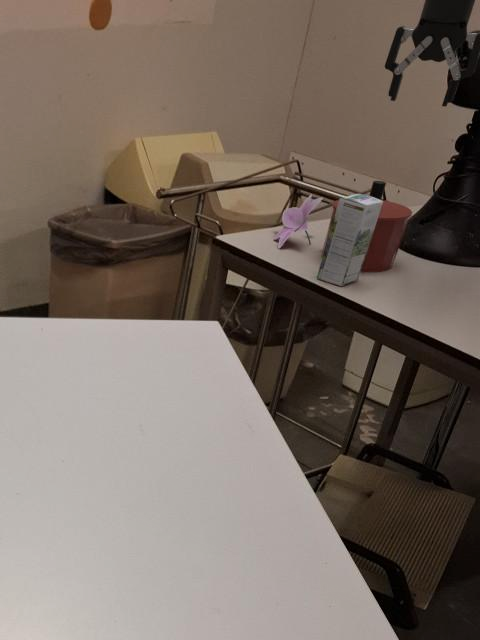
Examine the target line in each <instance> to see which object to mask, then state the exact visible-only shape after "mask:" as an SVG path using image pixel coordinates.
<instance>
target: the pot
mask: <svg viewBox="0 0 480 640" xmlns="http://www.w3.org/2000/svg"><path fill="white" fill-rule="evenodd" d="M335 213H336V210H334V209H333V208H332V213H331V217H330V221H329V224H328V227H327V232H326V235H325V239H324V243H323V246H322V251H321V259H322V257H323V254H324V251H325V247H326V244H327V240H328V237H329V233H330V230H331V226H332V223H333V220H334V216H335ZM408 221H409V218H408V219H404V220H397V221H378V220H377V222H376V226H375V229H374V232H373V235H372V238H371V241H370V244H369V247H368V250H367V253H366V256H365V259H364V263H363V266H362V269H361V272H362V273H363V272H364V273H367V272H368V273H378V272H379V273H380V272H385V271H388V270H390V269H392V268H393V265H394V264H395V261H396V258H397V256H398V251H399V249H400V246H401V243H402V241H403V236H404V234H405V231H406V228H407V224H408Z"/></svg>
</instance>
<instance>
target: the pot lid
mask: <svg viewBox="0 0 480 640" xmlns="http://www.w3.org/2000/svg"><path fill="white" fill-rule="evenodd" d="M386 185H387V182H386V181H383V180H373V181H372V185H371V188H370V192H369V194H368V196H371V197H374V198H377V199H379V200H381V201H382V202H383V204H382V207H381V210H380V213H379V216H378V219H377V220H378V221H397V220H404V219H408V220H409V218H411V217H412V215H413V211H412V209H411V208H409V207H408V206H405V205H403V204H399V203H397V202H393V201H389V200H383V196H384V192H385V189H386ZM338 202H339V199H336V200H335V201H333V202H332V210H333V209H334V210H336V209H337V206H338Z"/></svg>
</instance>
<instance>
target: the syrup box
mask: <svg viewBox="0 0 480 640" xmlns="http://www.w3.org/2000/svg"><path fill="white" fill-rule="evenodd" d="M338 200H339V202H338V206H337V209H336V213H335V216H334V220H333V223H332V226H331V230H330V233H329V237H328V240H327V244H326V247H325V251H324V254H323V257H322V258H321V262H320V264H319V268H318V272H317V275H316V278H317V280H320V281H324V282H326V283H331V284H333V285H337V286H339V287H343V286H345V285H348V284H353V283H355V282H357V281H358V280H359V278H360V276H361V275H360V274H361V272H362V271H361V269H362V266H363V263H364V259H365V256H366V253H367V250H368V247H369V244H370V241H371V238H372V235H373V232H374V229H375V226H376V222H377V219H378V216H379V213H380V210H381V207H382V204H383V202H382V201H381V200H382V199H381V200H379V199H377V198H374V197H371V196H369V194H363V193H355V194H350V195H347V196H342V197H340V198H339V199H338Z"/></svg>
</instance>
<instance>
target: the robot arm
mask: <svg viewBox="0 0 480 640" xmlns="http://www.w3.org/2000/svg"><path fill="white" fill-rule="evenodd" d="M475 3H476V0H424V3H423V7H422V10H421V14H420V17H419V19H418V20H419V21H418V24H417V25H416V27H415V28H409V27H406V26H404V25H401V26H398V27H397V29H396V30H395V33H394V36H393V39H392V43H391V45H390V48H389V51H388V55H387V58H386V60H385V64H384V68H385V70H388V71H390V72H391V73H392V79H391V82H390V85H389V89H388V93H387V94H388V97H390V101H391V102H395V101H396V100H397V98H398V95H399V92H400V87H401V84H402V81H403V76H404V74H403V73H404V71H405V70H406V69H407V68H408V67H410V65H411V64H412V63H414V61H415V60H416V59H417V58H418V59H419V60H421V61H423V62H427V61H433V62H436V63H442V62H444V61H446V62H447V64H446V65H447V67H448V68H449V72H450V74H451V77H452V78H451V79H450V80H449V81H448V85H447V88H446V92H445V94H444V98H443V101H442V104H441V107H446V108H447V106H448V104H451V103H452V102H453V101H454V99H455V96H456V93H457V90H458V87H459V83H460V81H461V80H463V79H466V78H471V77H472V76H474V74H475V72H476V70H477V67H478V66H477V65H478V61H479V59H480V32H468V25H469V22H470V18H471V16H472V12H473V10H474V6H475ZM410 37H411V39H412V43H413V46H414V49H413V50H412V51H411V52H410V53H409V54H408V55H407V56H406V57H405V58H404V59H403V60H402V61H401V62H400V63H398V62H397V58H398V55H399V51H400V49H401V45H402V44H405V43H406V42H407V41H408V39H409V38H410ZM465 42H467V43H468V45H467V46H468V47H467V48H468V49H470V50H471V51H470V56H469V59H468V63H467V67H466V68H463V69H462V68H461V65H460V62H459V58H458V57H459V56H458V54H457V50H458V49H459V48H460V46H462V45H463V44H464V43H465Z"/></svg>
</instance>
